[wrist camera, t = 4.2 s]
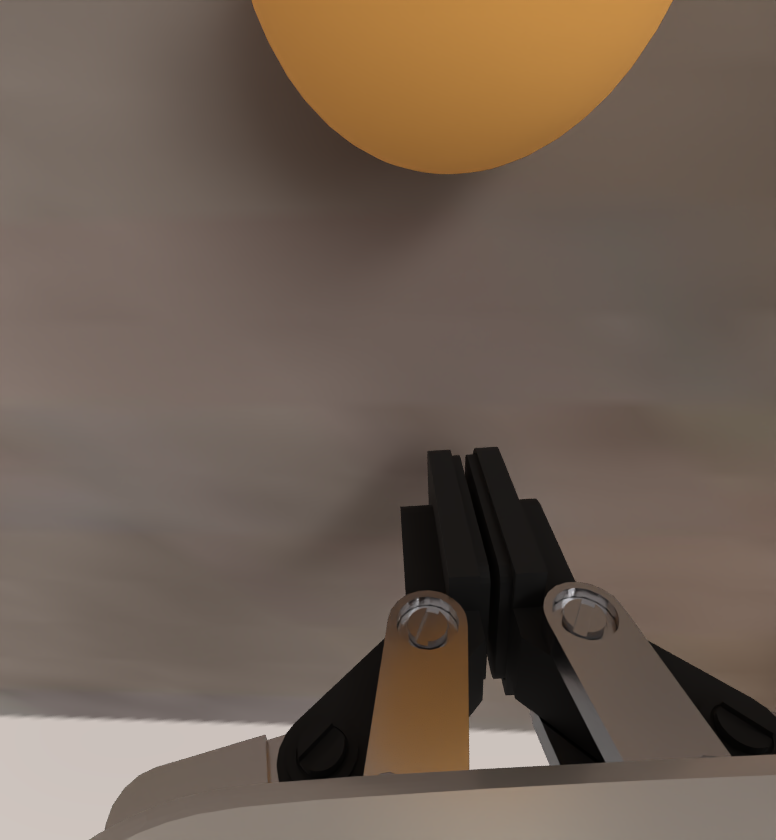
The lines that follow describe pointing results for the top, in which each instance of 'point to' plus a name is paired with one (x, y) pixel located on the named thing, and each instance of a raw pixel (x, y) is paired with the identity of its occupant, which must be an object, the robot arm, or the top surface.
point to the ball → (456, 71)
